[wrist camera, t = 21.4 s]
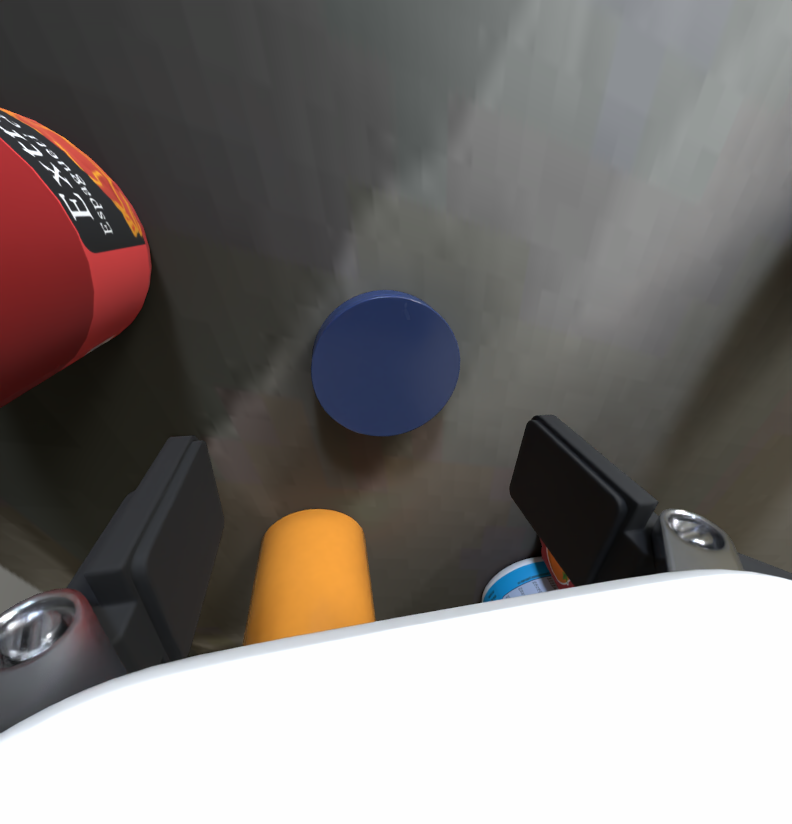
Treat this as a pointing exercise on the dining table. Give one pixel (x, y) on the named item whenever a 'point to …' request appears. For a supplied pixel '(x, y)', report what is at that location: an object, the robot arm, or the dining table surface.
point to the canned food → (61, 256)
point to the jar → (310, 577)
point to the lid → (384, 363)
